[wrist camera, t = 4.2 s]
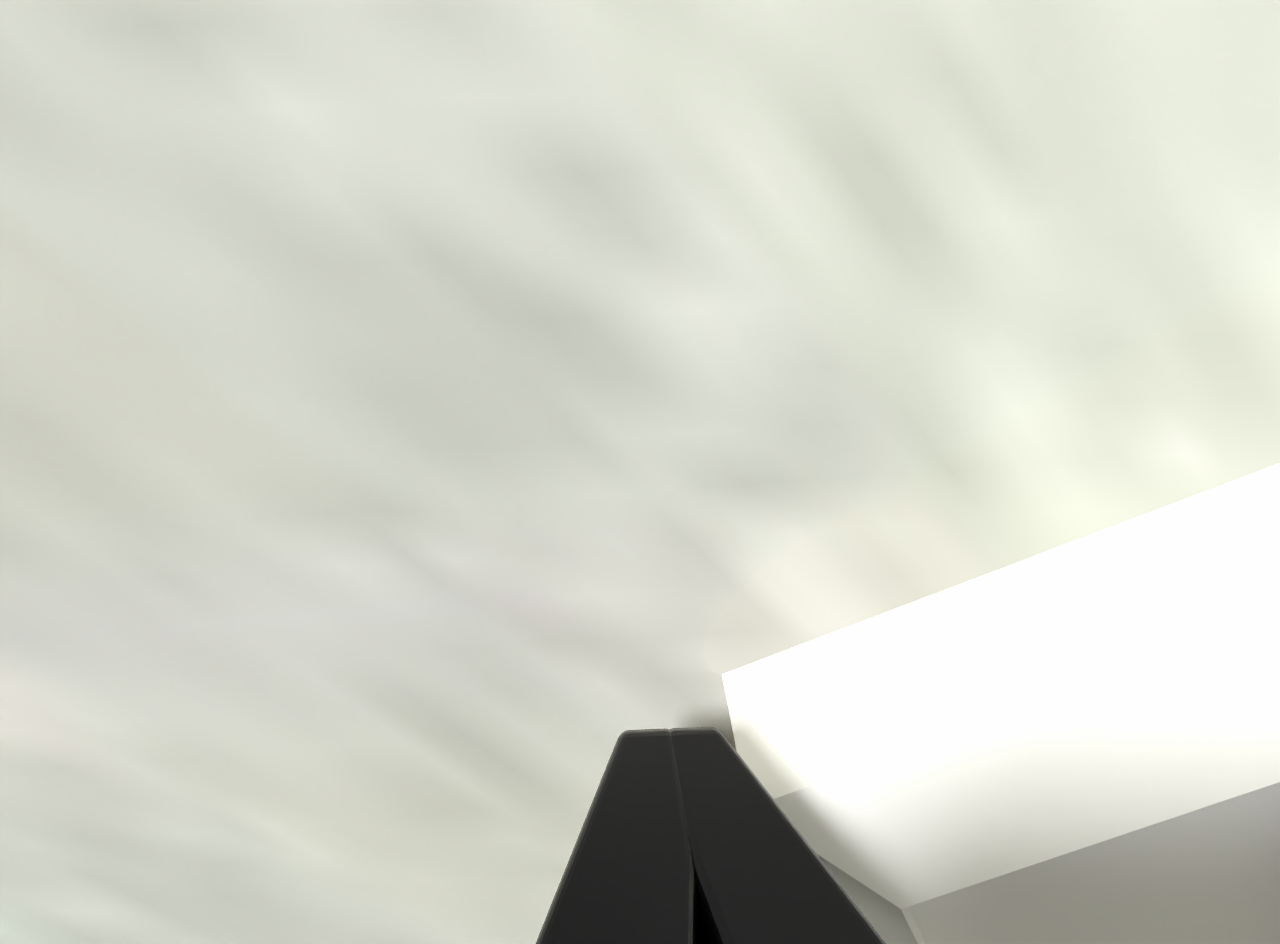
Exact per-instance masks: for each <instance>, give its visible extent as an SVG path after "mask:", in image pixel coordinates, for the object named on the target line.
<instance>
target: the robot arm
mask: <svg viewBox="0 0 1280 944" xmlns="http://www.w3.org/2000/svg"><path fill="white" fill-rule="evenodd" d="M536 944H886V943H885V941H884V940H883V939H882V938H881V936H880V935H879V934H878V932H877V931H876V930H875V929H874V927H873V926H872V925H871V923H870V922H869V921H868V920H867V918H866V917H865V916H864V914H863V913H862V912H861V911H860V909H859V908H858V907H857V905H856V904H855V903H854V902H853V900H852V899H851V898H850V896H849V895H848V894H847V893H846V891H845V890H844V889H843V887H842V886H841V885H840V884H839V882H838V881H837V880H836V879H835V877H834V876H833V875H832V873H831V872H830V871H829V870H828V868H827V867H826V866H825V864H824V863H823V862H822V861H821V859H820V858H819V857H818V855H817V854H816V853H815V852H814V850H813V849H812V848H811V846H810V845H809V844H808V843H807V841H806V840H805V839H804V837H803V836H802V835H801V834H800V832H799V831H798V830H797V828H796V827H795V826H794V825H793V823H792V822H791V821H790V820H789V818H788V817H787V816H786V814H785V813H784V812H783V811H782V809H781V808H780V807H779V805H778V804H777V803H776V802H775V800H774V799H773V798H772V796H771V795H770V794H769V793H768V791H767V790H766V789H765V787H764V786H763V785H762V784H761V782H760V781H759V780H758V778H757V777H756V776H755V775H754V773H753V772H752V771H751V769H750V768H749V767H748V766H747V764H746V763H745V762H744V760H743V759H742V758H741V757H740V755H739V754H738V753H737V752H736V750H735V749H734V748H733V746H732V745H731V744H730V743H729V741H728V740H727V739H726V737H725V736H724V735H723V734H722V733H721V732H720V731H719V730H718V729H716V728H713V727H696V728H674V729H670V730H668V729H646V730H627V731H625V732H623V733H622V734H621V735H620V736H619V738H618V740H617V742H616V745H615V747H614V750H613V752H612V755H611V757H610V760H609V762H608V764H607V767H606V769H605V772H604V774H603V777H602V779H601V782H600V784H599V787H598V789H597V792H596V794H595V797H594V799H593V802H592V804H591V807H590V809H589V812H588V814H587V817H586V819H585V822H584V824H583V827H582V829H581V832H580V834H579V837H578V839H577V842H576V844H575V847H574V849H573V852H572V854H571V857H570V859H569V862H568V864H567V867H566V869H565V872H564V874H563V877H562V879H561V882H560V884H559V887H558V889H557V892H556V894H555V897H554V899H553V902H552V904H551V907H550V909H549V912H548V914H547V917H546V919H545V922H544V924H543V927H542V929H541V932H540V934H539V937H538V939H537V942H536Z"/></svg>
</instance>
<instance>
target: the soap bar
mask: <svg viewBox="0 0 1280 944" xmlns="http://www.w3.org/2000/svg"><path fill="white" fill-rule="evenodd" d="M722 678H723V683H724V688H725V693H726V699H727V704H728V709H729V714H730V719H731V724H732V730H733V735H734V740H735V745H736V750H737V753H738V754H739V755H740V757H741V758H742V759H743V760H744V762H745V763H746V764H747V766H748V767H749V768H750V769H751V771H752V772H753V773H754V775H755V776H756V777H757V778H758V780H759V781H760V782H761V784H762V785H763V786H764V787H765V789H766V790H767V791H768V793H769V794H770V795H771V796H772V798H773V799H774V800H775V802H776V803H777V804H778V805H779V807H780V808H781V809H782V811H783V812H784V813H785V814H786V816H787V817H788V818H789V820H790V821H791V822H792V823H793V825H794V826H795V827H796V828H797V830H798V831H799V832H800V834H801V835H802V836H803V837H804V839H805V840H806V841H807V843H808V844H809V845H810V846H811V848H812V849H813V850H814V852H815V853H816V854H817V855H818V857H819V858H820V859H821V861H822V862H823V863H824V864H825V866H826V867H827V868H828V870H829V871H830V872H831V873H832V875H833V876H834V877H835V879H836V880H837V881H838V882H839V884H840V885H841V886H842V887H843V889H844V890H845V891H846V893H847V894H848V895H849V896H850V898H851V899H852V900H853V902H854V903H855V904H856V905H857V907H858V908H859V909H860V911H861V912H862V913H863V914H864V916H865V917H866V918H867V920H868V921H869V922H870V923H871V925H872V926H873V927H874V929H875V930H876V931H877V932H878V934H879V935H880V936H881V938H882V939H883V940H884V941H885V943H886V944H1280V463H1278V464H1276V465H1273V466H1271V467H1268V468H1265V469H1263V470H1260V471H1257V472H1255V473H1252V474H1249V475H1247V476H1244V477H1242V478H1239V479H1236V480H1234V481H1231V482H1228V483H1226V484H1223V485H1220V486H1218V487H1215V488H1212V489H1210V490H1207V491H1205V492H1202V493H1199V494H1197V495H1194V496H1191V497H1189V498H1186V499H1183V500H1181V501H1178V502H1176V503H1173V504H1170V505H1168V506H1165V507H1162V508H1160V509H1157V510H1154V511H1152V512H1149V513H1146V514H1144V515H1141V516H1139V517H1136V518H1133V519H1131V520H1128V521H1125V522H1123V523H1120V524H1117V525H1115V526H1112V527H1110V528H1107V529H1104V530H1102V531H1099V532H1096V533H1094V534H1091V535H1088V536H1086V537H1083V538H1080V539H1078V540H1075V541H1073V542H1070V543H1067V544H1065V545H1062V546H1059V547H1057V548H1054V549H1051V550H1049V551H1046V552H1044V553H1041V554H1038V555H1036V556H1033V557H1030V558H1028V559H1025V560H1022V561H1020V562H1017V563H1014V564H1012V565H1009V566H1007V567H1004V568H1001V569H999V570H996V571H993V572H991V573H988V574H985V575H983V576H980V577H978V578H975V579H972V580H970V581H967V582H964V583H962V584H959V585H956V586H954V587H951V588H948V589H946V590H943V591H941V592H938V593H935V594H933V595H930V596H927V597H925V598H922V599H919V600H917V601H914V602H912V603H909V604H906V605H904V606H901V607H898V608H896V609H893V610H890V611H888V612H885V613H882V614H880V615H877V616H875V617H872V618H869V619H867V620H864V621H861V622H859V623H856V624H853V625H851V626H848V627H846V628H843V629H840V630H838V631H835V632H832V633H830V634H827V635H824V636H822V637H819V638H816V639H814V640H811V641H809V642H806V643H803V644H801V645H798V646H795V647H793V648H790V649H787V650H785V651H782V652H780V653H777V654H774V655H772V656H769V657H766V658H764V659H761V660H758V661H756V662H753V663H750V664H748V665H745V666H743V667H740V668H737V669H735V670H732V671H729V672H727V673H724V674H722Z"/></svg>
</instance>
